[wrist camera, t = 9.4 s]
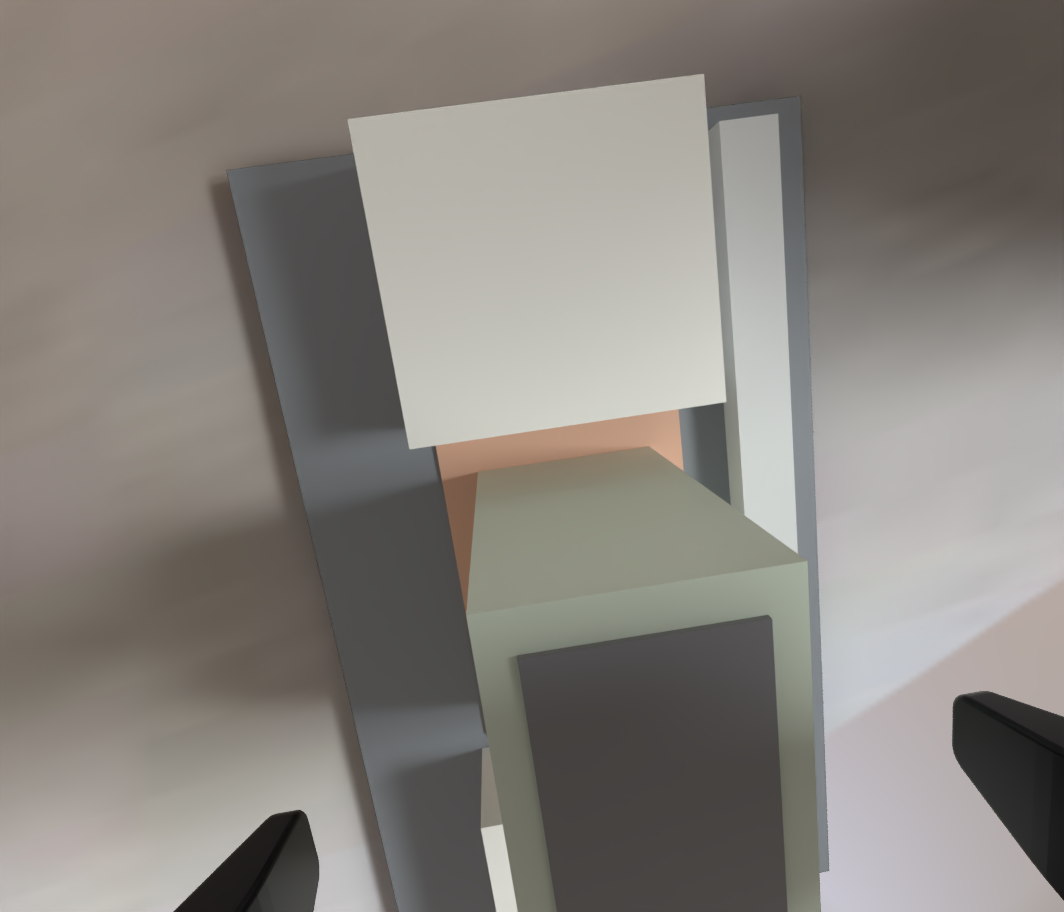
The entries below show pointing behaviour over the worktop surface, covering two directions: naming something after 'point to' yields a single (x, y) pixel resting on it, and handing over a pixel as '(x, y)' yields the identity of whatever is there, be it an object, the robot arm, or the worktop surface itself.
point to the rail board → (407, 515)
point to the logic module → (643, 691)
